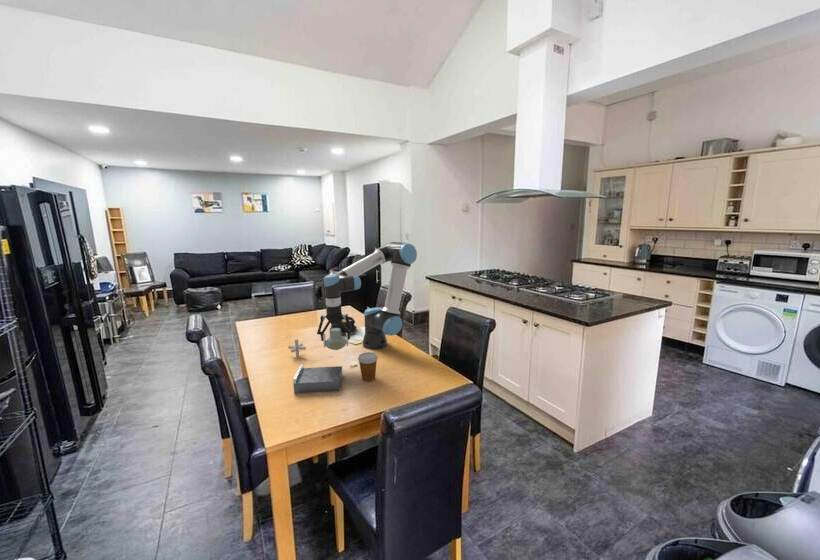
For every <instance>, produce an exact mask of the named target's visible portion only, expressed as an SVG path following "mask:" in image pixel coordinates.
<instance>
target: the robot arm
mask: <svg viewBox="0 0 820 560" xmlns="http://www.w3.org/2000/svg"><path fill="white" fill-rule="evenodd" d="M417 252H418V251H417V249H416V247H415V246H414V245H413V244H412V243H410V242H400V241H398V242H396V241H392V242H388V243H385V244H384V245H382V246H380V247H378V248H375V249H374V251H373V252H372V253H370V254H369V255H367V256H365V257H363V258H362V259H359V260H358V261H356V262H354V263H352V264H350V265H349V266H347V267H345V268H343V269H341V270H339V271H338V272H331V273H329V274H327V275H325V276H324V279H323V285H324V286H323V287H324V294H325V295H324V296H325V306H326V307H325V310H326V315H323V314H322V315H320V322H319V325H318V329H317V332H316V335H320V340H321V342H323V348H324V349H325V348H327V347H326V345H325V342H326V340H327V339H326V338H327V336H326V333H325V332H326V331H327V329H328V327H329V326H330V325H331V324H330V323H339V324H340V325H341V326H342V327H343V328H344V330H345V331H346V332H347V333H346V334H345V338H346V343H347V344H346V347H349V340H350V339H351V334H353V333H352V332H353V328H352V326H351V323H350V321H349V319H348V317H349V314H348V313H346V314H343V313H342V305H341V304H342V301H341V300H342V298H341V293H346V292H352V291H356V290H359V289H360V288H361V286H362V280H361V278H360V277H359V276H361V275H363V274H364V273H365V274H366V272H368V271H370V270H371V269H373V268H375V267H377V266H379V265H381V264H382V265H384V264H385V263H387V262H390V264H391V266H392V269H391V273H390V278H389V283H388V288H387V293H386V297H385V301H384V306H383V307H381V306H380V307H376V306H375V307H371V308H370V307H369V308H367V309H364V314H363V316H364V336H363V338H362V339H363V340H362V346H363V347H364V348H366V349H369V350H371V349H372V350H376V349H377V350H378V349H383V348H384V347H387V345H388V340H387V337H386V335H387V336H395V335H397V334H398V333H399V332H400V331H402V327H403V320H402V318H401V312H400V310H399V309H400V304H401V300H402V296H403V292H404V286H405V281H406V277H407V272H408V270H410V268H411V266H412V264H414V263H415V262H416V260H417V257H418V253H417ZM342 317H344V319H345V320H346V322H347V324H348V327H349V329H350V330H349V329H348V328H347V327H346V325H345V324H344V323H343V321H342V320H341V319H342ZM325 320H327V323H326V324H325V326H324V328H323V329H322V326H323V323H324V321H325ZM321 330H322V331H321Z"/></svg>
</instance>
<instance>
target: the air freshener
mask: <svg viewBox="0 0 820 560" xmlns="http://www.w3.org/2000/svg"><path fill="white" fill-rule="evenodd" d="M325 345H326V347H325V348H327V349H329V350H332V351H338V350H341V349H343V348H344V347H346V346H347V343H346V337H345V336H342V334H341V329H340V328H333V329H330V328H329V337H328V338H327V339H326V342H325Z"/></svg>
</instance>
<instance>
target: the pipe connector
mask: <svg viewBox="0 0 820 560" xmlns="http://www.w3.org/2000/svg"><path fill="white" fill-rule="evenodd" d="M306 348H307V347H306V346H304V344H303V343H302V342H299V338H295V339H294V345H288V346H287V349H289V350H290V352H291V353H292V354H293V353H295V357H296V356H298V357H300V351H305V350H306Z"/></svg>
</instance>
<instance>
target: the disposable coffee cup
mask: <svg viewBox="0 0 820 560" xmlns="http://www.w3.org/2000/svg"><path fill="white" fill-rule="evenodd" d="M378 359H379V357H378V355H377V353H375V352H363V353H360V354H359V355H358V358H357V360H358V362H359V369H360V370H359V371H360V374H361V380H362V381H363V382H365V383H370V382H373V381H374V380H376V374H377V373H376V372H377V361H378Z"/></svg>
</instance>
